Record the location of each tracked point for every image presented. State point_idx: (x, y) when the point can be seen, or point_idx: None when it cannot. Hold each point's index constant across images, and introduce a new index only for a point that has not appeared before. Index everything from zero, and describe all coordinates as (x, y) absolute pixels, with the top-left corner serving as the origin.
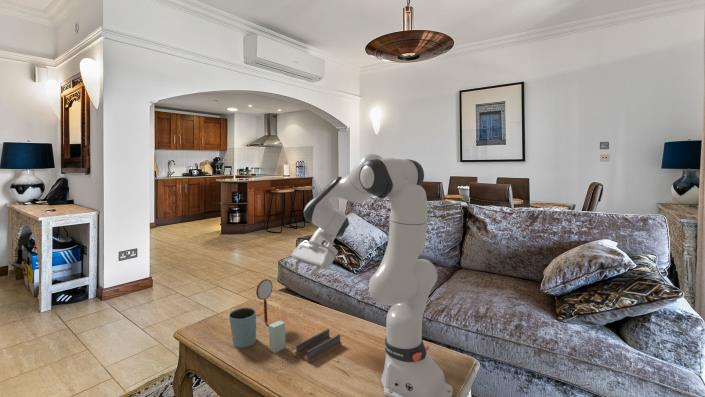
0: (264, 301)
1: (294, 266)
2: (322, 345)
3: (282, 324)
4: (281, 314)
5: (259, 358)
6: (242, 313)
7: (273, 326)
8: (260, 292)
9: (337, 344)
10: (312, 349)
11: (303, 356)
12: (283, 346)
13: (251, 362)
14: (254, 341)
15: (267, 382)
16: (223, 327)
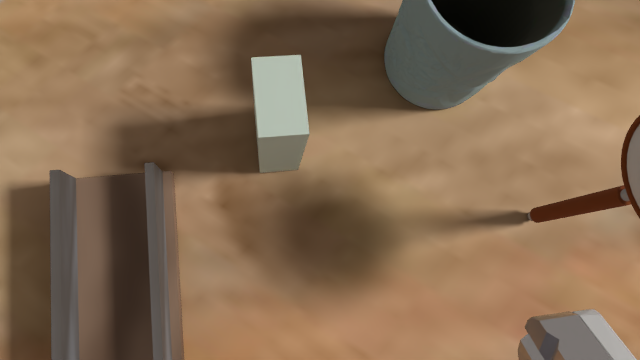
0: (615, 188)
1: (603, 352)
2: (53, 274)
3: (257, 121)
4: None
5: (264, 45)
6: (544, 21)
7: (263, 63)
8: None
9: None
10: (51, 201)
11: (109, 179)
12: (258, 157)
13: (260, 9)
14: (394, 83)
15: None
16: (618, 52)
